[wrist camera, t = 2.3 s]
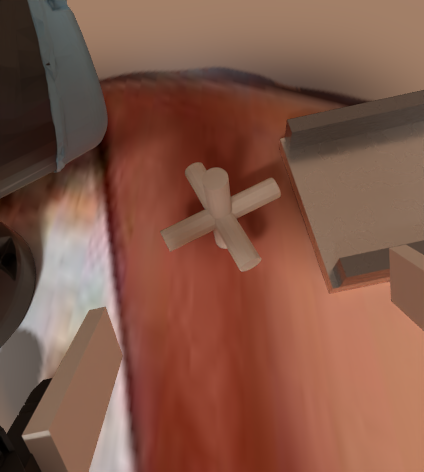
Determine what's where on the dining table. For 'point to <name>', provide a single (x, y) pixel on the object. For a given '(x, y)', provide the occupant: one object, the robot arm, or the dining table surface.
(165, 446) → the dining table surface
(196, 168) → the pipe connector
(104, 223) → the dining table surface
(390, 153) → the cradle plate
